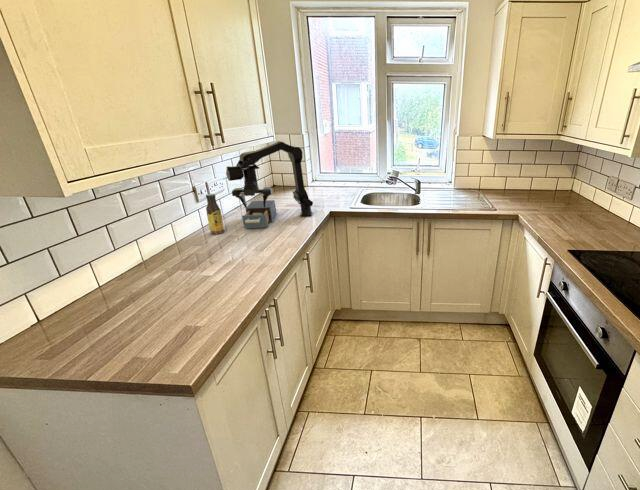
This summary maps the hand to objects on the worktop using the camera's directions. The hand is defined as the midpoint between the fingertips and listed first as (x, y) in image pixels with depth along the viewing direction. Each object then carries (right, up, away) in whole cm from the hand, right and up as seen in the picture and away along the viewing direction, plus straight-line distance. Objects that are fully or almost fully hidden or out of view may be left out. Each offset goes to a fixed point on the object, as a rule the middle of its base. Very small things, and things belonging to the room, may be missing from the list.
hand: (255, 207), depth 166 cm
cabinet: (-2, -5, +14) cm, 15 cm away
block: (0, -8, +3) cm, 8 cm away
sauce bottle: (-16, -13, -6) cm, 22 cm away
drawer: (0, -9, +2) cm, 9 cm away
